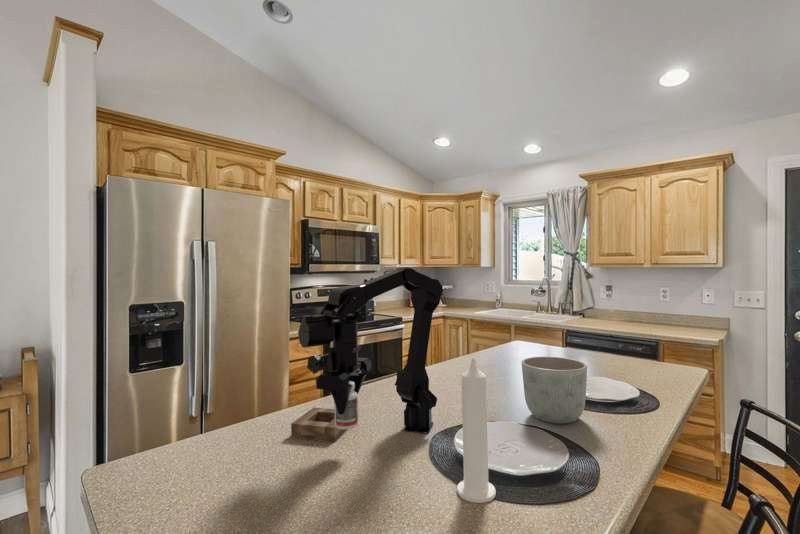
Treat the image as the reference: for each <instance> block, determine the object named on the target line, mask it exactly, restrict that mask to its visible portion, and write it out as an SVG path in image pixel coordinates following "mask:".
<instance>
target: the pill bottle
mask: <svg viewBox="0 0 800 534" xmlns="http://www.w3.org/2000/svg"><path fill="white" fill-rule="evenodd" d="M348 384H352V388H351V391H350V395H349V398H348V402H347V405H346V408H345V412H344V414H339V413H338V410H337V407H336V404H335V401H333V403H334V408H333V409H334V412H335V427H337V428H339V429H348V430H350V429H353V428H356V427H357V426H358V424H359V393H358V394H357V392H356V391H354V389H355V383H354V382H353V381H349V383H348Z"/></svg>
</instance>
